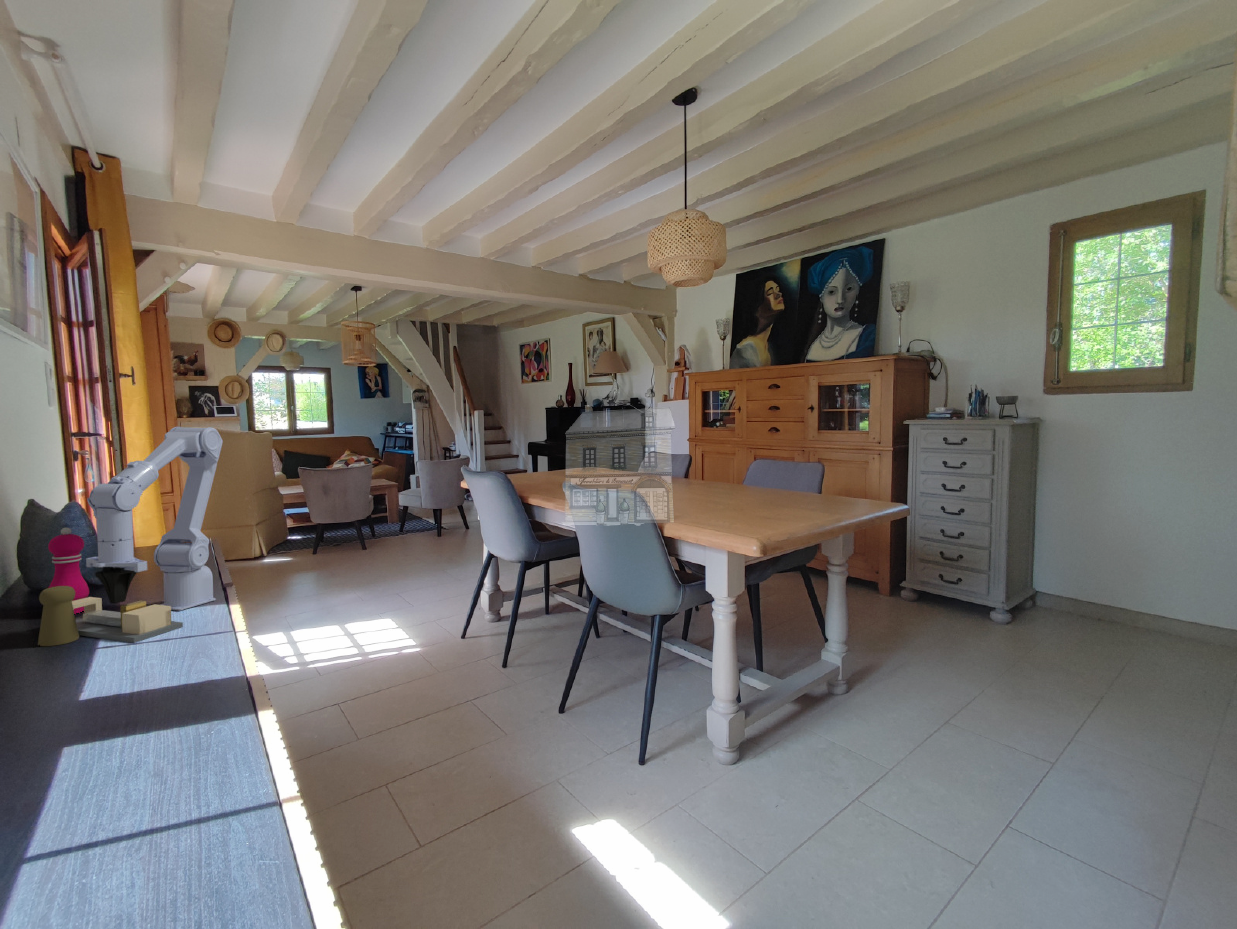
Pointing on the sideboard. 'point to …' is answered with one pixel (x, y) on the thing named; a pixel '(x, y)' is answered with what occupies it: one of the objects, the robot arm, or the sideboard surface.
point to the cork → (57, 616)
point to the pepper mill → (68, 564)
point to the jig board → (127, 622)
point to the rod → (111, 614)
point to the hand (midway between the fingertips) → (117, 602)
